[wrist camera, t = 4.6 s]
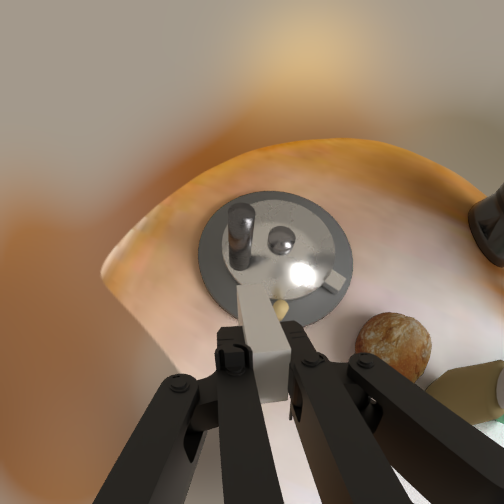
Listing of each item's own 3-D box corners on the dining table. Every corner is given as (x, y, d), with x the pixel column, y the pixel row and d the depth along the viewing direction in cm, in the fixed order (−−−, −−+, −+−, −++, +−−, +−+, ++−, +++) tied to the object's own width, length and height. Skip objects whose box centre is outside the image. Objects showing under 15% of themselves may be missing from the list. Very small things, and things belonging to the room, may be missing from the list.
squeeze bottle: (442, 436, 22) (547, 425, 7) (404, 418, 24) (520, 407, 9) (461, 384, 26) (559, 350, 11) (427, 364, 28) (532, 319, 13)
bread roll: (403, 341, 33) (431, 302, 29) (417, 401, 25) (456, 366, 20) (344, 335, 34) (367, 291, 29) (349, 402, 25) (384, 365, 21)
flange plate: (264, 190, 39) (272, 133, 30) (361, 249, 35) (395, 201, 26) (198, 257, 33) (187, 202, 24) (310, 335, 29) (343, 305, 20)
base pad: (259, 176, 42) (261, 157, 39) (370, 244, 37) (382, 228, 33) (167, 265, 33) (159, 249, 30) (300, 363, 28) (309, 358, 25)
